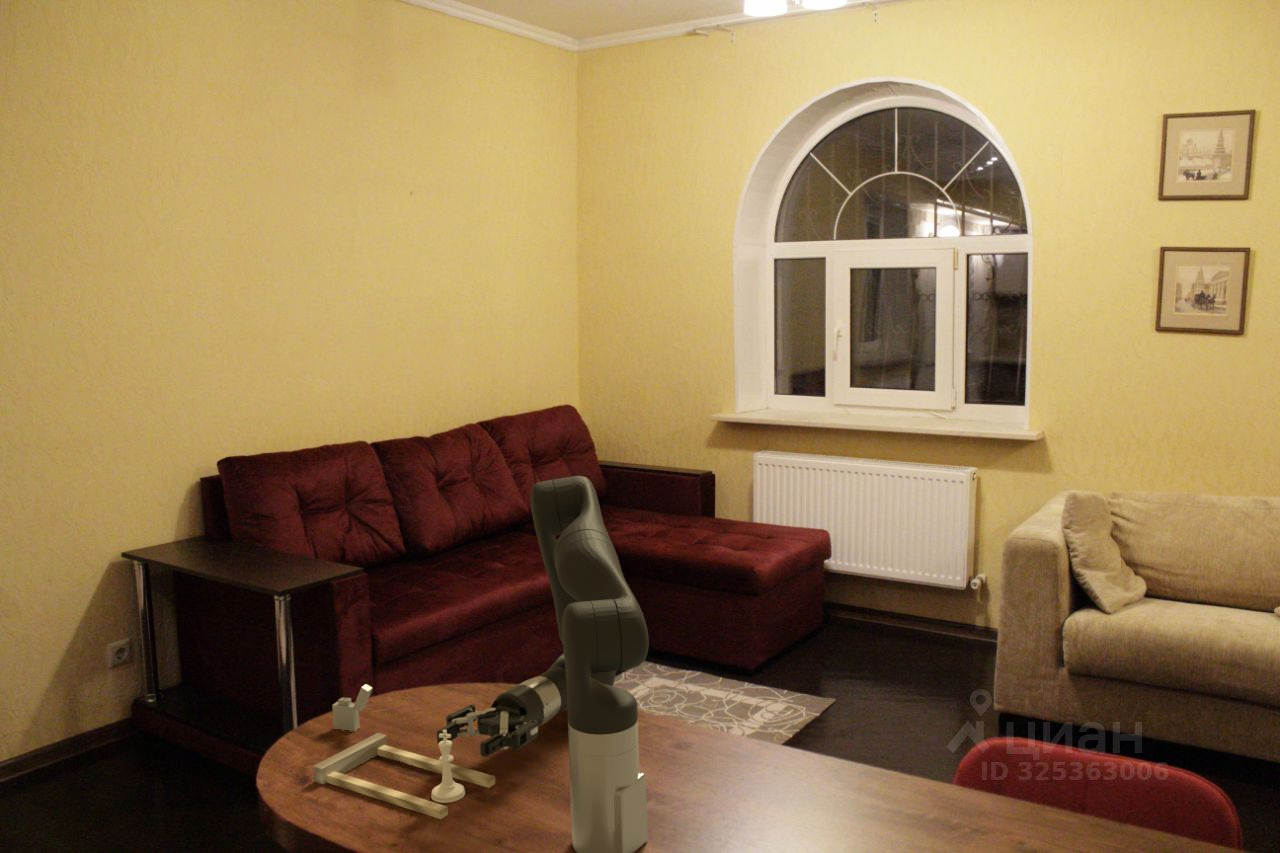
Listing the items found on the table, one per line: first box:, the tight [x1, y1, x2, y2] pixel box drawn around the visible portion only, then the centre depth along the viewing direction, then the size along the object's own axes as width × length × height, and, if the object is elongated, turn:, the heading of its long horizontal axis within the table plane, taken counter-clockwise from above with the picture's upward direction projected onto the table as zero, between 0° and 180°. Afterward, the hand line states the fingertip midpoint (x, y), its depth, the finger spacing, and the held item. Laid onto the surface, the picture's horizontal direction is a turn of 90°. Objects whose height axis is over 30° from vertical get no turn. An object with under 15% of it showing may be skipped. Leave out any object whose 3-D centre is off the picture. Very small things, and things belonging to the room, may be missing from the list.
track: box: [312, 732, 496, 820], centre depth 159 cm, size 25×14×2 cm, turn 58°
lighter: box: [332, 683, 373, 732], centre depth 178 cm, size 7×2×8 cm, turn 74°
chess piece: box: [430, 730, 466, 804], centre depth 154 cm, size 5×5×10 cm
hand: (460, 744), depth 157 cm, fingers open, 8 cm apart
